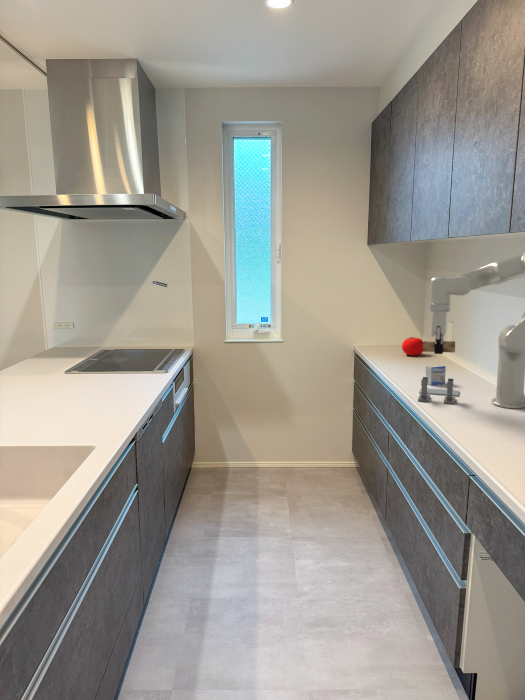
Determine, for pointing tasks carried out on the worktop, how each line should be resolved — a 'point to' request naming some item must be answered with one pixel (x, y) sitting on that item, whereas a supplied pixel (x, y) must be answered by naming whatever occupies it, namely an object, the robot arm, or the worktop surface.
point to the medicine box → (436, 374)
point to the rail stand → (425, 398)
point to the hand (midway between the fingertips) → (438, 352)
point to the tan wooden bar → (447, 346)
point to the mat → (439, 392)
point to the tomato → (413, 346)
